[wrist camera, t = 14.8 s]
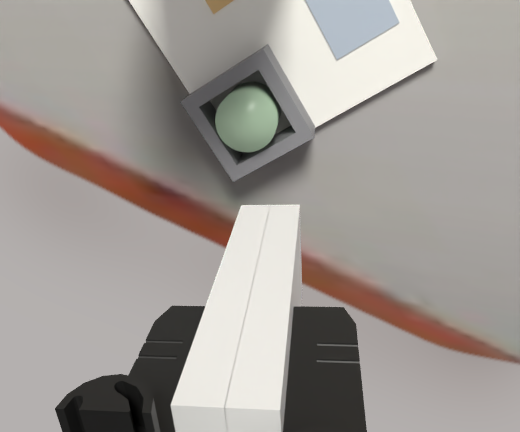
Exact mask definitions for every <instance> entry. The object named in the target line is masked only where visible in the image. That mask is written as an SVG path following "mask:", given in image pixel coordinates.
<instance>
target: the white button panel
mask: <svg viewBox="0 0 520 432" xmlns="http://www.w3.org/2000/svg"><path fill="white" fill-rule="evenodd" d="M129 2H130V3H131V5H132V6H133V8H134V9H135V11H136V12H137V14H138V15H139V17H140V19H141V20H142V22H143V23H144V25H145V26H146V28H147V29H148V31H149V32H150V34H151V35H152V37H153V38H154V40H155V42H156V43H157V45H158V46H159V48H160V49H161V51H162V52H163V54H164V55H165V57H166V58H167V60H168V62H169V63H170V65H171V66H172V68H173V69H174V71H175V72H176V74H177V75H178V77H179V78H180V80H181V81H182V83H183V85H184V86H185V88H186V89H187V91H188V92H189V94H190V95H188V96H187V97H186V98H185V99H184V100H182V101H181V102H180V103H181V104H182V106H183V107H184V109H185V110H186V112H187V113H188V115H189V116H190V118H191V119H192V121H193V122H194V124H195V125H196V127H197V128H198V130H199V131H200V133H201V134H202V136H203V137H204V139H205V140H206V142H207V143H208V145H209V146H210V148H211V149H212V151H213V152H214V154H215V155H216V157H217V158H218V160H219V161H220V163H221V165H222V166H223V168H224V169H225V171H226V172H227V174H228V175H229V177H230V178H231V180H232V181H233V182H234V181H236V180H238V179H240V178H242V177H243V176H245V175H247V174H249V173H251V172H253V171H254V170H256V169H258V168H260V167H262V166H264V165H265V164H267V163H269V162H271V161H273V160H274V159H276V158H278V157H280V156H282V155H284V154H285V153H287V152H289V151H291V150H293V149H295V148H296V147H298V146H300V145H302V144H304V143H305V142H307V141H309V140H311V139H313V138H314V135H315V128H316V127H317V126H319V125H321V124H323V123H325V122H326V121H328V120H330V119H332V118H334V117H335V116H337V115H339V114H341V113H343V112H344V111H346V110H348V109H350V108H352V107H353V106H355V105H357V104H359V103H361V102H362V101H364V100H366V99H368V98H370V97H371V96H373V95H375V94H377V93H379V92H380V91H382V90H384V89H386V88H388V87H389V86H391V85H393V84H395V83H397V82H398V81H400V80H402V79H404V78H406V77H407V76H409V75H411V74H413V73H415V72H416V71H418V70H420V69H422V68H424V67H425V66H427V65H429V64H431V63H433V62H434V61H436V60H437V58H436V56H435V53H434V51H433V49H432V47H431V45H430V43H429V40H428V38H427V36H426V34H425V32H424V29H423V27H422V25H421V23H420V21H419V18H418V16H417V14H416V12H415V10H414V8H413V5H412V3H411V1H410V0H129ZM245 82H259V83H262V84H264V85H266V86H268V87H269V88H270V90H271V91H272V93H273V95H274V97H275V98H276V100H277V102H278V103H279V105H280V107H281V115H280V119H279V122H278V125H277V128H276V131H275V134H274V136H273V138H272V140H271V141H270V142H269V144H267V145H266V146H265V147H264V148H262V149H260V150H258V151H255V152H240V151H237V150H234V149H232V148H231V147H229V146H228V145H226V144H225V143H224V142H223V140H222V139H221V138H220V136H219V134H218V132H217V129H216V124H215V117H216V112H217V109H218V107H219V105H220V104H221V102H222V101H223V100H224V99H225V98H226V96H227V95H228V94H229V93H230V92H231V90H233V89H234V88H235V87H236V86H238V85H239V84H242V83H245Z"/></svg>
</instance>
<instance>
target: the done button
mask: <svg viewBox="0 0 520 432" xmlns="http://www.w3.org/2000/svg"><path fill="white" fill-rule="evenodd" d="M280 115H281V107H280V105H279V103H278V102H277V100H276V98H275V97H274V95H273V93H272V91H271V90H270V88H269V87H268V86H266V85H264V84H262V83H259V82H245V83H242V84H239V85H238V86H236V87H235V88H234V89H233V90H231V92H230V93H229V94H228V95H227V96H226V98H225V99H224V100H223V101H222V102H221V104H220V105H219V107H218V109H217V112H216V117H215V124H216V129H217V132H218V134H219V136H220V138H221V139H222V140H223V142H224V143H225V144H226V145H228V146H229V147H231V148H232V149H234V150H237V151H240V152H255V151H258V150H260V149H262V148H264V147H265V146H266V145H267V144H269V142H270V141H271V140H272V138H273V136H274V134H275V131H276V128H277V125H278V122H279V119H280Z"/></svg>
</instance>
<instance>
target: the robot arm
mask: <svg viewBox="0 0 520 432" xmlns="http://www.w3.org/2000/svg"><path fill="white" fill-rule="evenodd" d="M301 304H302V268H301V232H300V205H241V208H240V210H239V213H238V216H237V219H236V222H235V224H234V227H233V230H232V233H231V236H230V239H229V241H228V244H227V247H226V250H225V253H224V256H223V258H222V261H221V264H220V267H219V270H218V272H217V275H216V278H215V281H214V284H213V287H212V289H211V293H210V295H209V298H208V301H207V304H206V306H171V307H170V308H169V309H168V310H167V311H166V312H165V313H163V315H161V316H160V317H159V318H158V319H157V320H156V321H155V322H154V324H153V326H152V328H151V330H150V332H149V334H148V336H147V339H146V343H144V345H143V347H142V349H141V351H140V353H139V357H138V359H136V361H135V363H134V365H133V367H132V369H131V371H130V374H129V375H128V376H127V375H122V374H119V375H109V376H102V377H99V378H96V379H94V380H91V381H88V382H85V383H83V384H82V385H81V386H79V387H77V388H76V389H75V390H73V391H71V392H70V393H68V394H67V395H66V396H65V398H64V399H63V400H62V401H61V402H60V403H59V405H58V406H57V407H56V408H55V410H56V413H57V416H58V419H59V422H60V425H61V428H62V431H63V432H367V430H366V421H365V410H364V401H363V391H362V381H361V371H360V363H359V350H358V340H357V331H356V324H355V322H354V321H353V319H352V318H351V317H350V315H349V314H348V313H347V311H346V310H345V309H344V308H343V307H301V306H302V305H301Z"/></svg>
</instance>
